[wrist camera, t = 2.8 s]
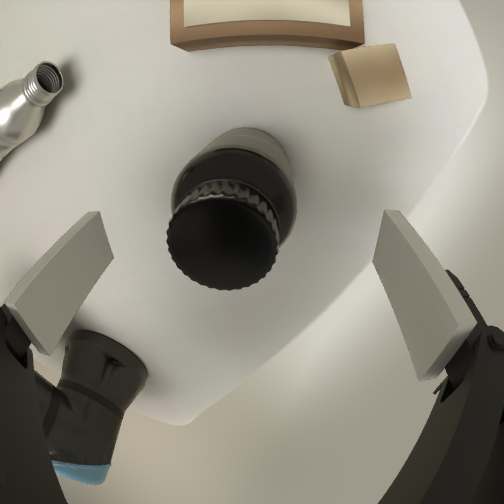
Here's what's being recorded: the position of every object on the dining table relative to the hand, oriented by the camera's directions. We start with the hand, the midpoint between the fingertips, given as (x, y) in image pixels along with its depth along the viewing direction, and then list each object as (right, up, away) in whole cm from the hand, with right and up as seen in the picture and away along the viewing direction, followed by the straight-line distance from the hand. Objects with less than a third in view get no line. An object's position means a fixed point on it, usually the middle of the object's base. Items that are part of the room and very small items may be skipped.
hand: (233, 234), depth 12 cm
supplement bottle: (0, +6, +10) cm, 11 cm away
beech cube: (+9, +13, +5) cm, 16 cm away
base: (+2, +19, 0) cm, 19 cm away
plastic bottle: (-35, +9, +6) cm, 36 cm away
